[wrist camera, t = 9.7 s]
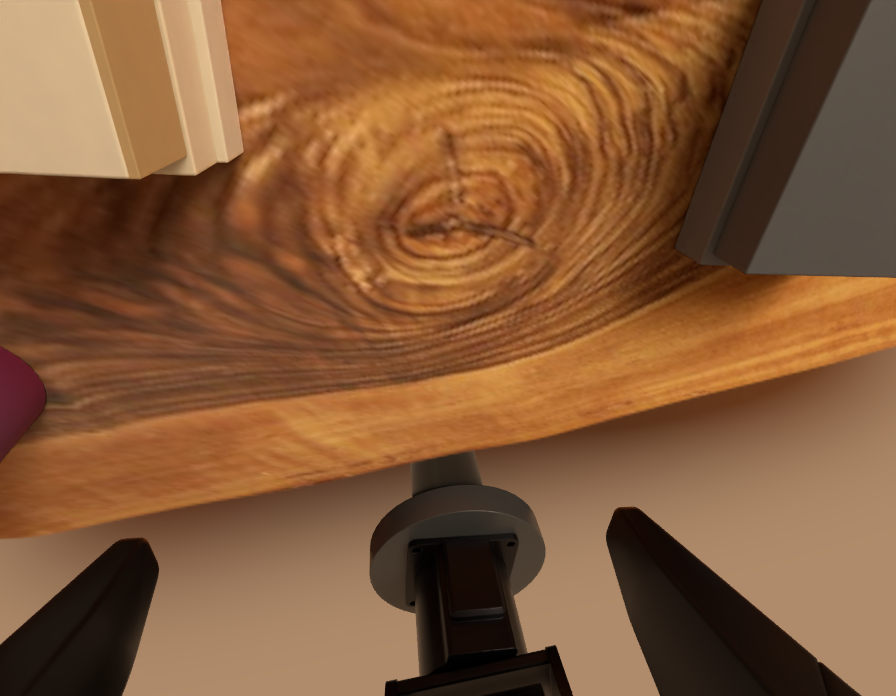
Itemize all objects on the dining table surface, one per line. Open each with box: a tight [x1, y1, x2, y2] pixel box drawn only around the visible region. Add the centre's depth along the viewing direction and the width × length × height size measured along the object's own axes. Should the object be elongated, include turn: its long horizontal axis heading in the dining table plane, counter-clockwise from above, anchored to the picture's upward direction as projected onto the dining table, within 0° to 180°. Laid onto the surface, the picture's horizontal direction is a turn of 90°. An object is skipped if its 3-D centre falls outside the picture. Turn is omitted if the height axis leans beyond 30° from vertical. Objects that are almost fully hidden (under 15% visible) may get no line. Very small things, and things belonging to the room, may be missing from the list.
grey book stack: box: [675, 0, 896, 278], centre depth 16 cm, size 10×8×4 cm
